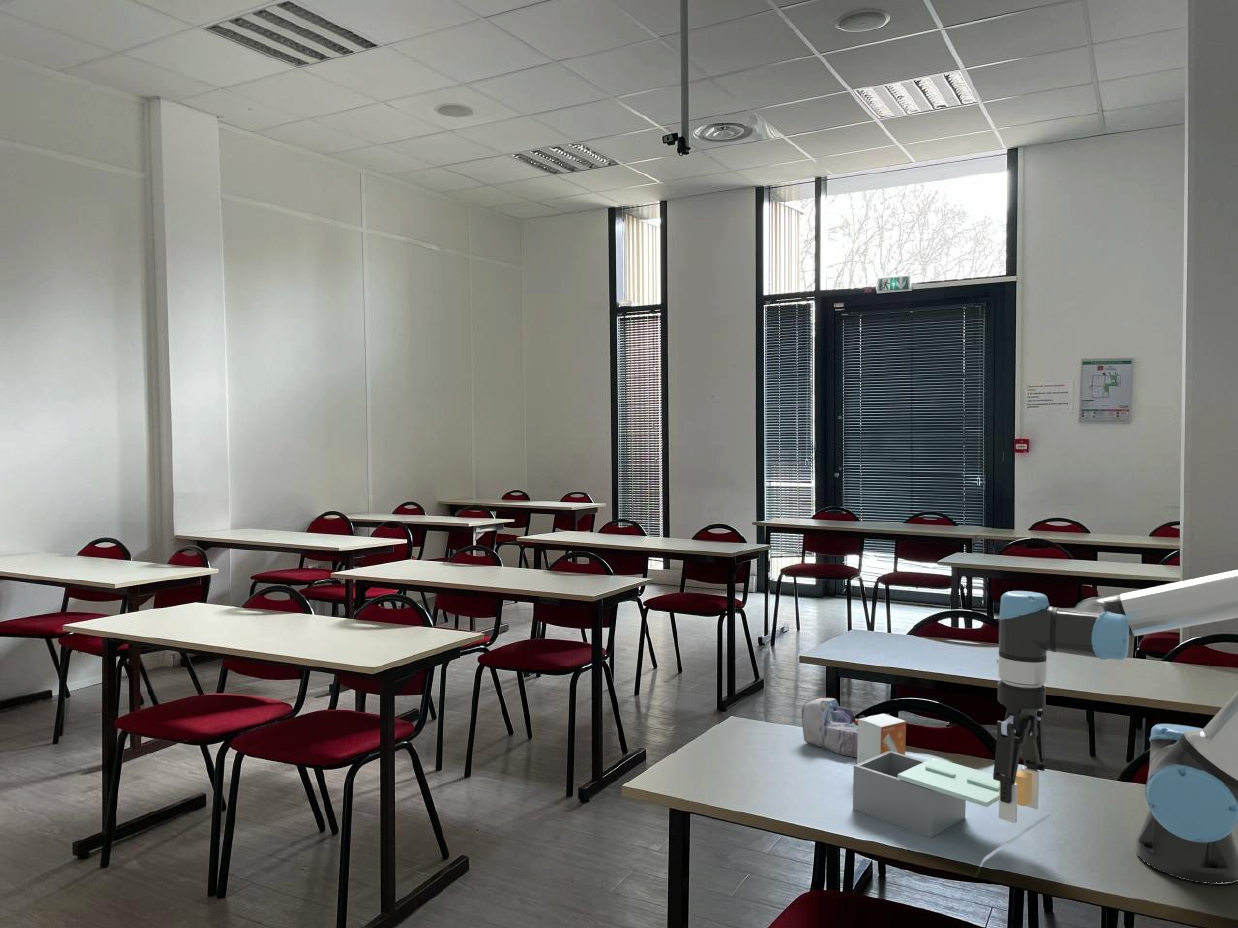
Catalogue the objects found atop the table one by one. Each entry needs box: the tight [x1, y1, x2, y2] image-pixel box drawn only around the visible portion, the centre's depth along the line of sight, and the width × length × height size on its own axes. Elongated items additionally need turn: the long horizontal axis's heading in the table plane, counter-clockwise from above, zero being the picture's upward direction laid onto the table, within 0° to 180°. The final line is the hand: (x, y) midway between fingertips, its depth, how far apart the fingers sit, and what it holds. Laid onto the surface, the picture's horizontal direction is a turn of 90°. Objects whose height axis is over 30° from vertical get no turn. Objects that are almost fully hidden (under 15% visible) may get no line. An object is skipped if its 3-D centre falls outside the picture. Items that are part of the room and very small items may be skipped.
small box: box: [856, 713, 907, 764], centre depth 182 cm, size 8×6×13 cm
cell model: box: [801, 697, 875, 758], centre depth 202 cm, size 13×11×20 cm
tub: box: [852, 751, 966, 839], centre depth 164 cm, size 16×13×9 cm
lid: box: [898, 757, 1032, 808], centre depth 155 cm, size 21×14×5 cm, turn 42°
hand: (1018, 812), depth 149 cm, fingers open, 8 cm apart
